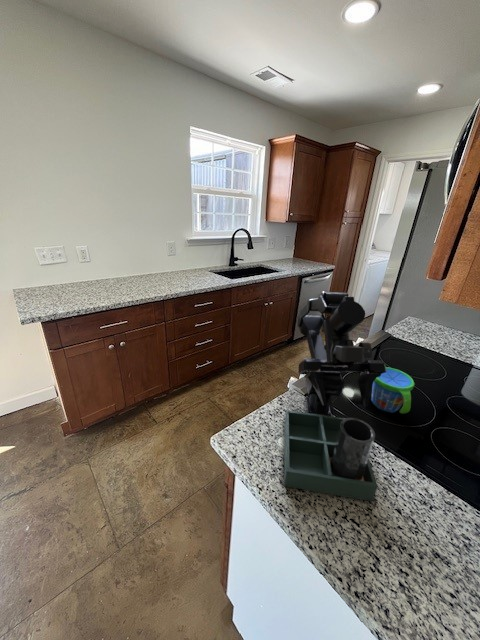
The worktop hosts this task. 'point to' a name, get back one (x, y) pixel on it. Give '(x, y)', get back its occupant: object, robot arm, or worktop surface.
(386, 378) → the snack cup
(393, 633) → the worktop surface
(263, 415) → the worktop surface
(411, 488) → the worktop surface
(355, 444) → the grey tumbler
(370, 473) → the divided compartment tray
